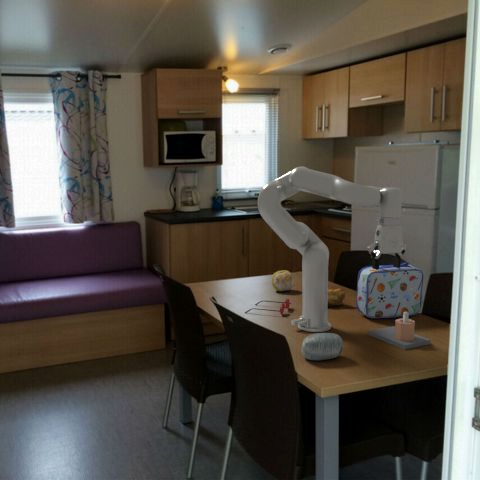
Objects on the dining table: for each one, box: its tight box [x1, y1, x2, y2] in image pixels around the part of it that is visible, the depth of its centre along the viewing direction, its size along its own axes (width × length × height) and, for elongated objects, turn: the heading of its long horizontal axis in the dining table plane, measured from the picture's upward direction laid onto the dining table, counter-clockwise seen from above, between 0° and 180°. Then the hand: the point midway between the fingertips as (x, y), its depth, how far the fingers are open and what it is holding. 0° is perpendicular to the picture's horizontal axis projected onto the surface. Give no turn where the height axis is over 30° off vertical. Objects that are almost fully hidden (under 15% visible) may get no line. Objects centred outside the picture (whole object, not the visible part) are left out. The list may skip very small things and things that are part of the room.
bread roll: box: [328, 287, 346, 308], centre depth 249 cm, size 13×10×8 cm
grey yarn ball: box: [301, 332, 344, 361], centre depth 186 cm, size 14×10×10 cm
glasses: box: [244, 298, 292, 316], centre depth 242 cm, size 14×16×5 cm
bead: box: [394, 317, 416, 341], centre depth 201 cm, size 6×6×6 cm
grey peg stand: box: [368, 312, 431, 350], centre depth 203 cm, size 12×18×11 cm, turn 28°
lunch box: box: [355, 262, 425, 319], centre depth 232 cm, size 28×10×22 cm, turn 106°
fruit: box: [271, 269, 295, 292], centre depth 274 cm, size 10×11×10 cm
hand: (386, 268), depth 210 cm, fingers open, 9 cm apart
